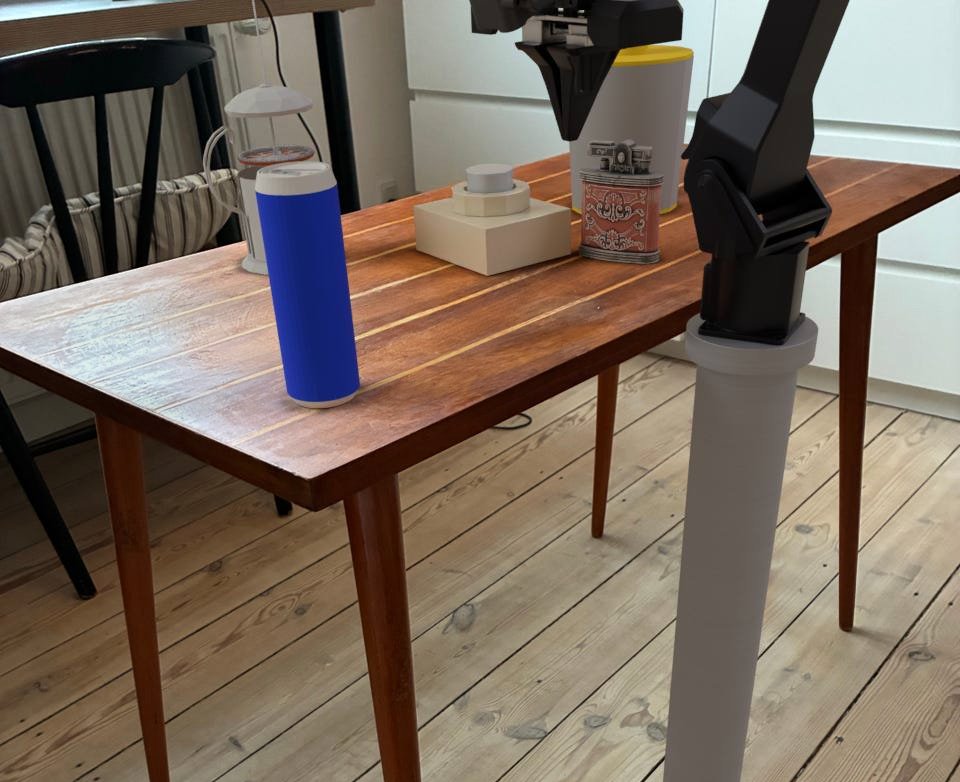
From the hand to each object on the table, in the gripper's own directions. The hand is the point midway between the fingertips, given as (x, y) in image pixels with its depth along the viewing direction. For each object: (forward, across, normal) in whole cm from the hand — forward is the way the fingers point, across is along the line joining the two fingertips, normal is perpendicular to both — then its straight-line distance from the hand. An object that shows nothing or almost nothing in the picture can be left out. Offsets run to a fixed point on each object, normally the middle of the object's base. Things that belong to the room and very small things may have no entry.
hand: (569, 140), depth 84 cm
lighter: (+12, -5, +10) cm, 16 cm away
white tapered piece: (+12, -19, +23) cm, 32 cm away
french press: (+12, -26, -14) cm, 32 cm away
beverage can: (+12, +6, -28) cm, 31 cm away
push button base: (+12, -14, +2) cm, 19 cm away
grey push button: (+7, -14, +2) cm, 16 cm away
